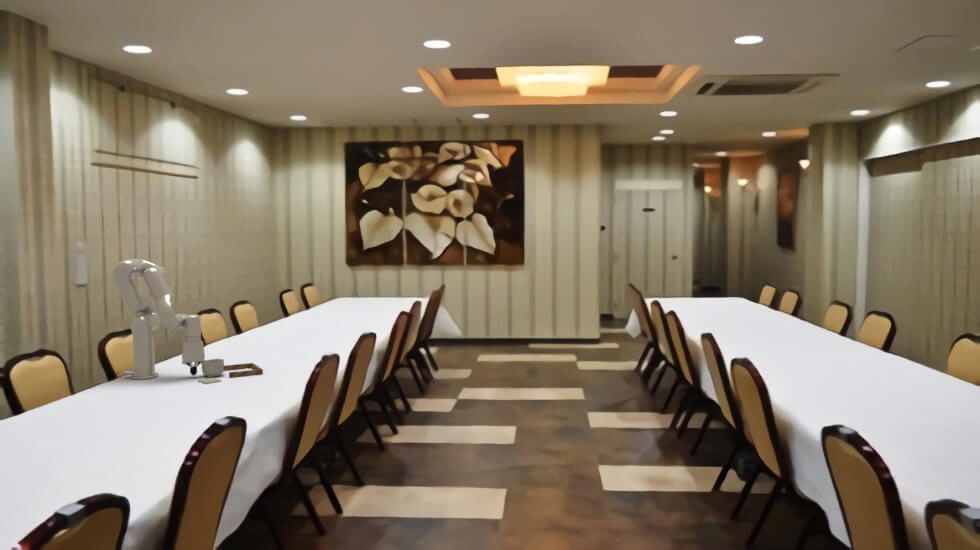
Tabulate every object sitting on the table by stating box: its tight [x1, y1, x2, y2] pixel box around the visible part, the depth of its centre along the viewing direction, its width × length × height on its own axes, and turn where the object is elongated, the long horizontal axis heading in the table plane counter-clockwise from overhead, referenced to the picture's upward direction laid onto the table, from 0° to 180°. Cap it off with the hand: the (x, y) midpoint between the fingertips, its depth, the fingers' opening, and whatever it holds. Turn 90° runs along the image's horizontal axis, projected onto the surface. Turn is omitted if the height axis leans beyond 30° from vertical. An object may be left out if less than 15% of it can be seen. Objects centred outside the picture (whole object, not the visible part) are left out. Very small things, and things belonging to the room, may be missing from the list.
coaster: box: [197, 377, 222, 385], centre depth 349 cm, size 8×8×1 cm
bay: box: [224, 362, 264, 379], centre depth 371 cm, size 16×20×2 cm
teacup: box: [201, 358, 225, 378], centre depth 363 cm, size 14×11×8 cm
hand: (193, 374), depth 358 cm, fingers closed
